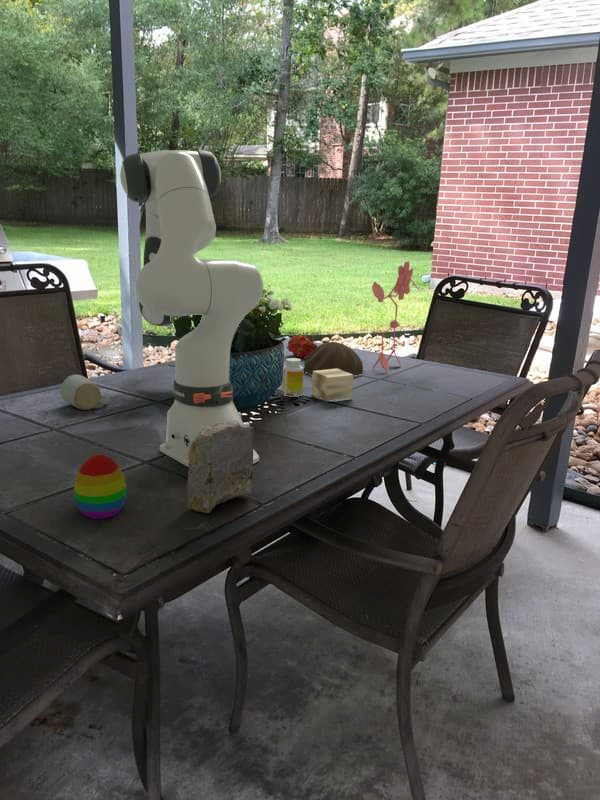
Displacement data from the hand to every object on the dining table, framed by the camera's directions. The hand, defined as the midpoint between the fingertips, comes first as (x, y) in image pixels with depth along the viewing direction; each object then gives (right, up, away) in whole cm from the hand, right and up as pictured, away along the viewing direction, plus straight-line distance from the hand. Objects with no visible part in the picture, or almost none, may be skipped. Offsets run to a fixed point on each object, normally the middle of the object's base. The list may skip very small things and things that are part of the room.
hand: (252, 320), depth 181 cm
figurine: (+45, -12, +35) cm, 58 cm away
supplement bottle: (+11, -21, +1) cm, 23 cm away
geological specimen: (-1, -40, -67) cm, 78 cm away
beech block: (+22, -21, +1) cm, 30 cm away
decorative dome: (+23, -13, +30) cm, 40 cm away
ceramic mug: (-41, -23, -14) cm, 49 cm away
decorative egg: (-20, -40, -71) cm, 84 cm away
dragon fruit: (+14, -7, +51) cm, 53 cm away
